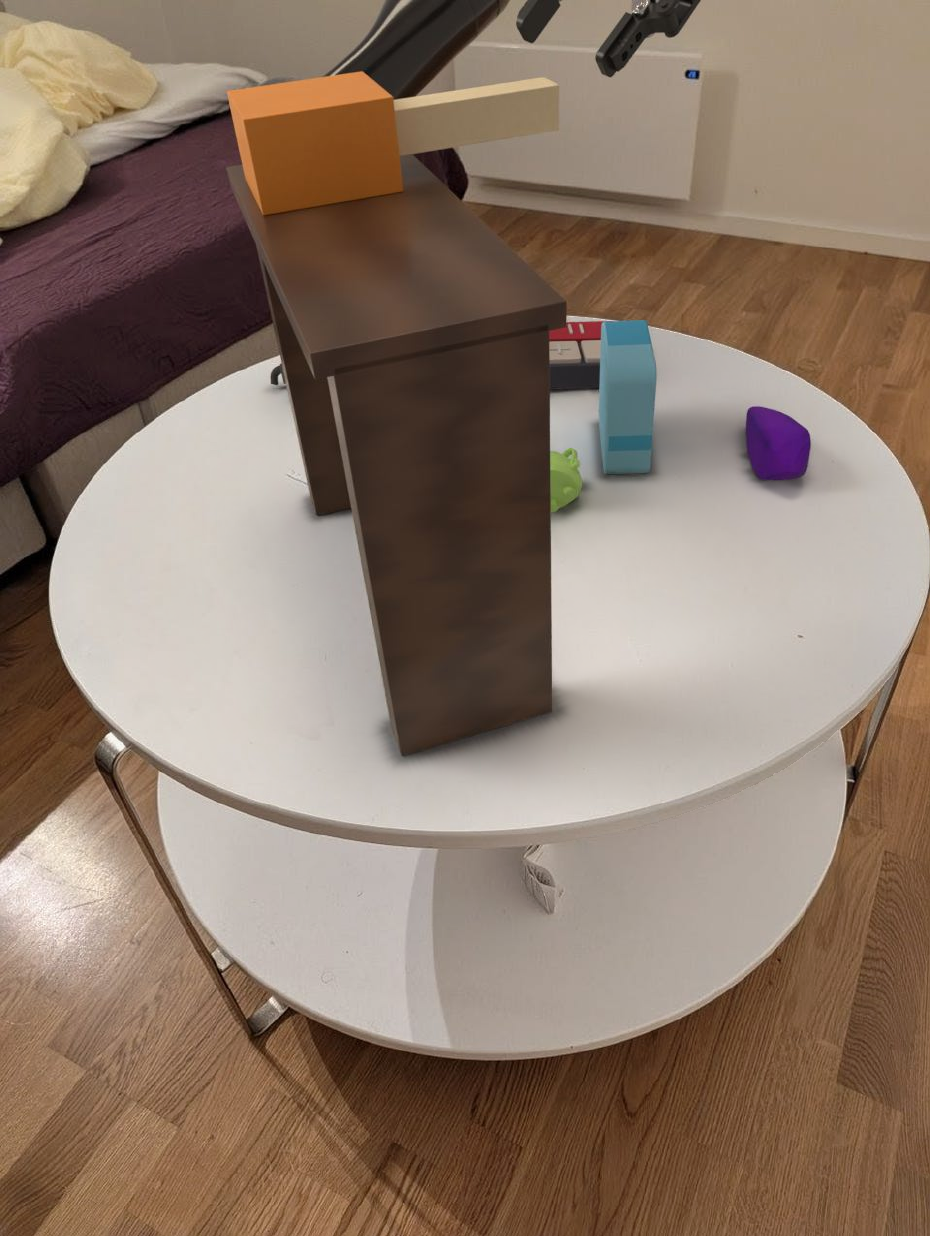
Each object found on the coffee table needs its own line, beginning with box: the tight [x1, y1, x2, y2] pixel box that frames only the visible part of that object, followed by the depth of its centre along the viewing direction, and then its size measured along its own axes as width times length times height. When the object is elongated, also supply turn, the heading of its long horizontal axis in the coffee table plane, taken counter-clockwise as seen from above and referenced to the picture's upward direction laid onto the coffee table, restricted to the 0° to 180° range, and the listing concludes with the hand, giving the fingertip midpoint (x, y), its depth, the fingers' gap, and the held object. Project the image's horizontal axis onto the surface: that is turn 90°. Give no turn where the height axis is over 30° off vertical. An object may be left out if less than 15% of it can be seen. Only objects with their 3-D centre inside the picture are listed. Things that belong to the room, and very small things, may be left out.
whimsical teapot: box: [550, 447, 583, 513], centre depth 89 cm, size 6×5×6 cm
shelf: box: [226, 154, 568, 756], centre depth 71 cm, size 14×36×32 cm, turn 18°
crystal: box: [745, 405, 812, 481], centre depth 93 cm, size 5×5×15 cm
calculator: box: [549, 320, 608, 390], centre depth 110 cm, size 11×4×15 cm
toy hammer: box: [226, 71, 560, 216], centre depth 66 cm, size 23×9×6 cm, turn 108°
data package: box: [598, 319, 658, 475], centre depth 93 cm, size 12×4×12 cm, turn 177°
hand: (561, 51), depth 70 cm, fingers open, 8 cm apart
